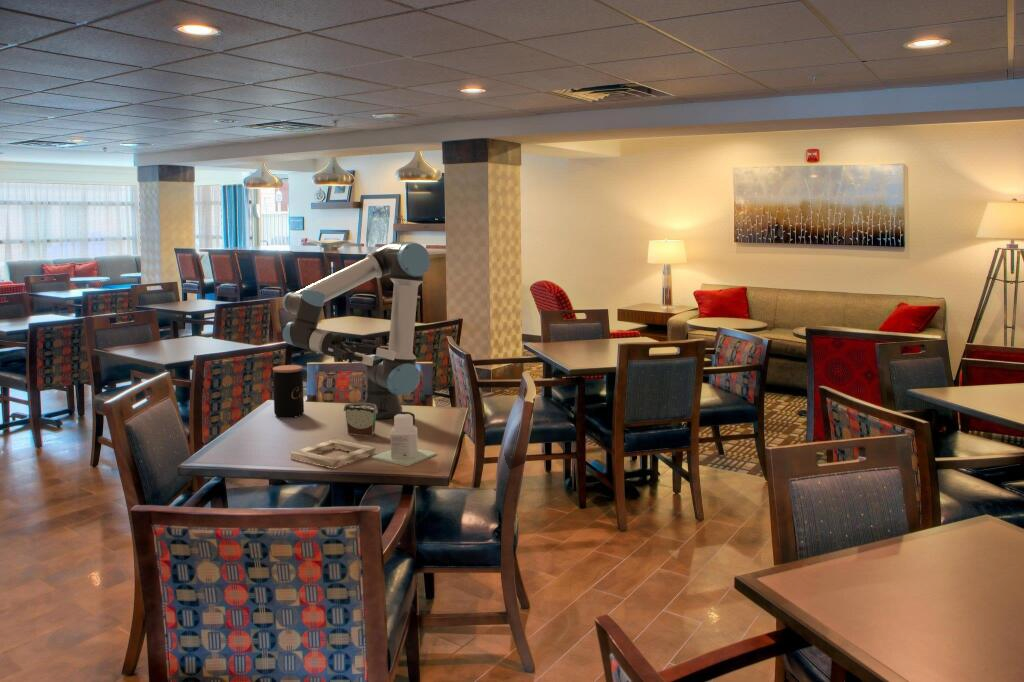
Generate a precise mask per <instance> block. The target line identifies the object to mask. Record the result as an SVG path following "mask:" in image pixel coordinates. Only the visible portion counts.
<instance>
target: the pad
mask: <svg viewBox="0 0 1024 682" xmlns="http://www.w3.org/2000/svg"><path fill="white" fill-rule="evenodd" d="M437 455H438V453H437V452H434V451H431V450H425V449H420V448H418V451H417V457H416V458H391V449H388V450H387V451H386V450H385V451H383V452H380V453H378V454H377V453H376V454H375V455H372V456H371V459H373V458H374V459H373V460H377V459H378V461H382V462H387V463H391V464H396V465H400V466H403V467H404V466H405V467H408V466H411V465H414V464H416V463H419V462H422V461H424V460H427V459H429V458H432V457H434V456H437Z"/></svg>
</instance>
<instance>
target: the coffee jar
mask: <svg viewBox="0 0 1024 682" xmlns="http://www.w3.org/2000/svg"><path fill="white" fill-rule="evenodd" d="M302 370H303V366H302V365H297V364H287V365H286V364H284V365H277V366H273V367H272V372H273V374H272V385H273V390H272V391H273V408H274V409H273V410H274V415H275V416H276V417H277V416H278V417H277V418H280V417H293V418H296V417H295V416H298V417H300V416H299V415H301V416H303V414H304V413H305V406H304V405H305V404H304V401H305V400H304V376H303V375H304V374H303V372H302Z"/></svg>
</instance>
